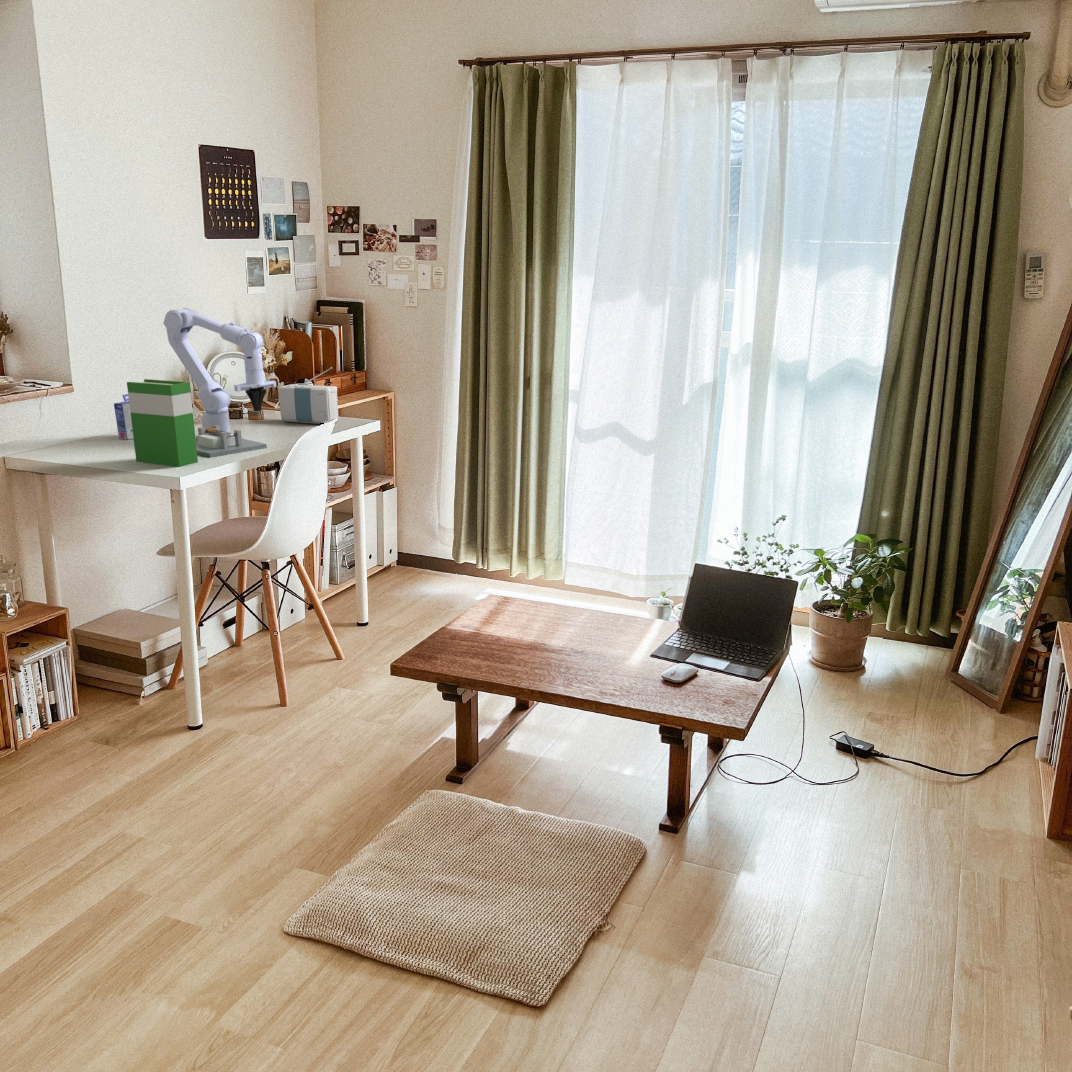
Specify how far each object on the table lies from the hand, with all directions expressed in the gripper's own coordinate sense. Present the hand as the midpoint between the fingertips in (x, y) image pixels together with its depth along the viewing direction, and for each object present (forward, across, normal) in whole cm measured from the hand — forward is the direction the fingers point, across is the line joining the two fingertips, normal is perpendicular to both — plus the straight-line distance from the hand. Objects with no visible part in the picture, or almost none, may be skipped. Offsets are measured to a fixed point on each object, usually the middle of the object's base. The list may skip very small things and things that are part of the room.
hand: (257, 410), depth 342 cm
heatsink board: (+9, -17, -4) cm, 20 cm away
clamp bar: (+5, -17, -4) cm, 18 cm away
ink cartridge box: (+10, -26, +36) cm, 45 cm away
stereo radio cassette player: (+10, +30, +14) cm, 34 cm away
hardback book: (+10, -39, -11) cm, 42 cm away
